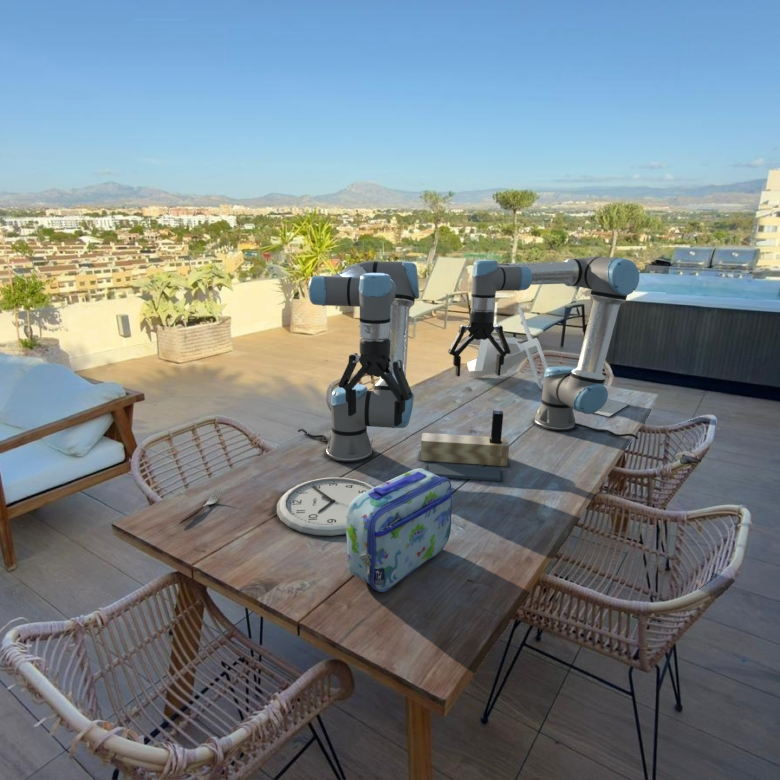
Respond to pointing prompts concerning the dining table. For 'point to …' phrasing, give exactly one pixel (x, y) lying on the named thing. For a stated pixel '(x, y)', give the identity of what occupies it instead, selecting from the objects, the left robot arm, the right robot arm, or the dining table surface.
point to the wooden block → (464, 449)
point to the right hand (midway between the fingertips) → (477, 375)
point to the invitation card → (610, 408)
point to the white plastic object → (507, 355)
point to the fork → (209, 502)
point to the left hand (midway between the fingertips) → (374, 419)
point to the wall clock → (320, 505)
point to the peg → (496, 427)
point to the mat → (465, 472)
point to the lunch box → (398, 527)
